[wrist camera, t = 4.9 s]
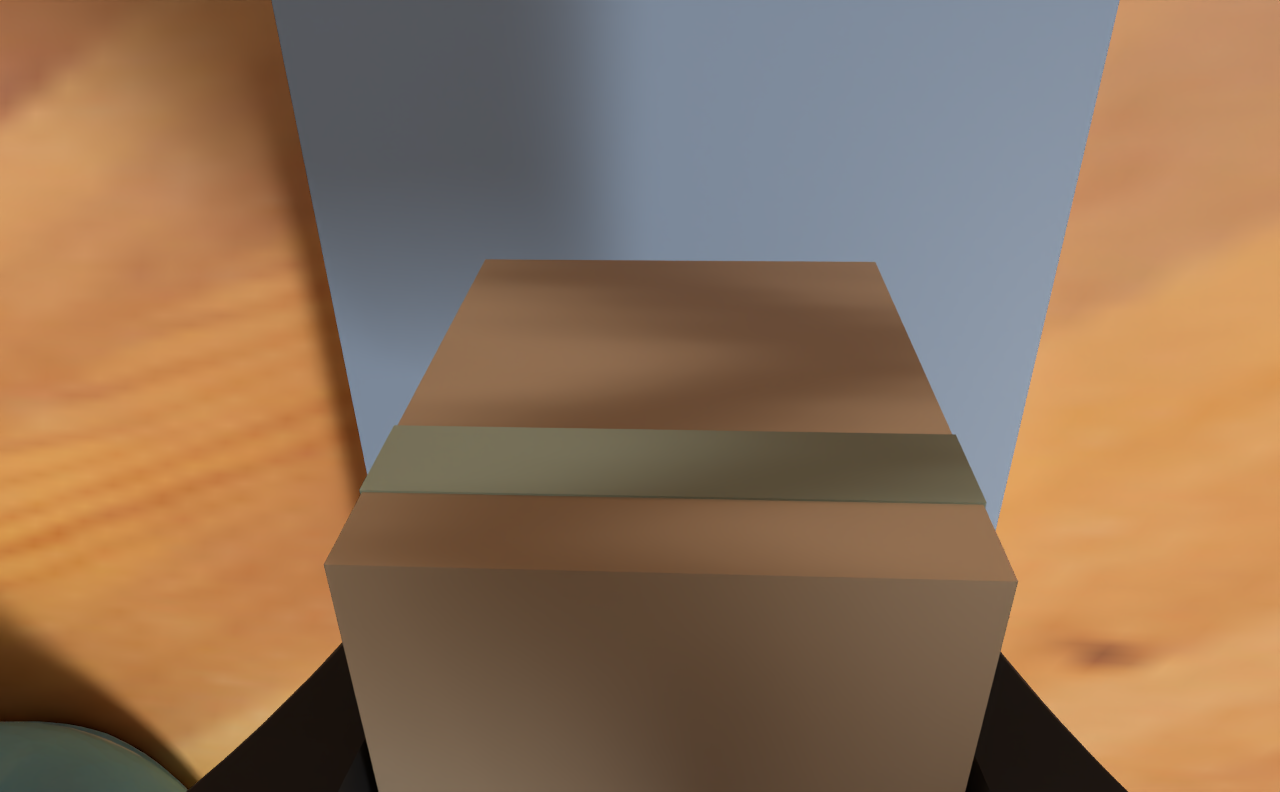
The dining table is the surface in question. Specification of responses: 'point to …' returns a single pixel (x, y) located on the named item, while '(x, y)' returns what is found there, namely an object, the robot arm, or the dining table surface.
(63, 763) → the casserole dish
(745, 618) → the tea box
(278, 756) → the robot arm
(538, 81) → the book
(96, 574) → the dining table surface
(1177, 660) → the dining table surface
